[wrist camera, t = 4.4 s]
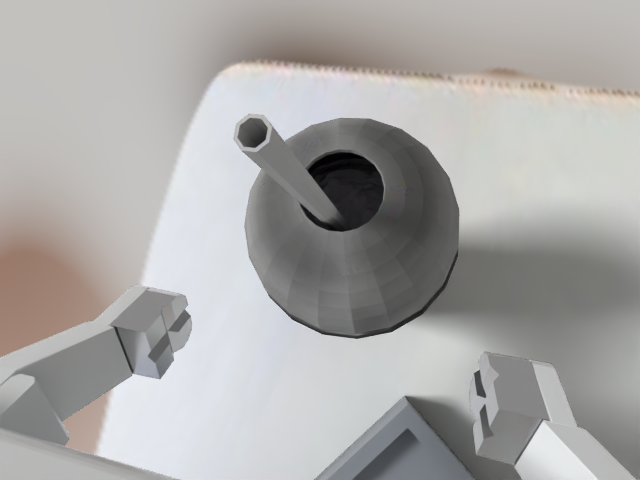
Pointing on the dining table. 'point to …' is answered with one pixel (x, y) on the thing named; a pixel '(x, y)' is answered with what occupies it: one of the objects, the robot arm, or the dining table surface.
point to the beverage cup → (348, 224)
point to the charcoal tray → (398, 451)
